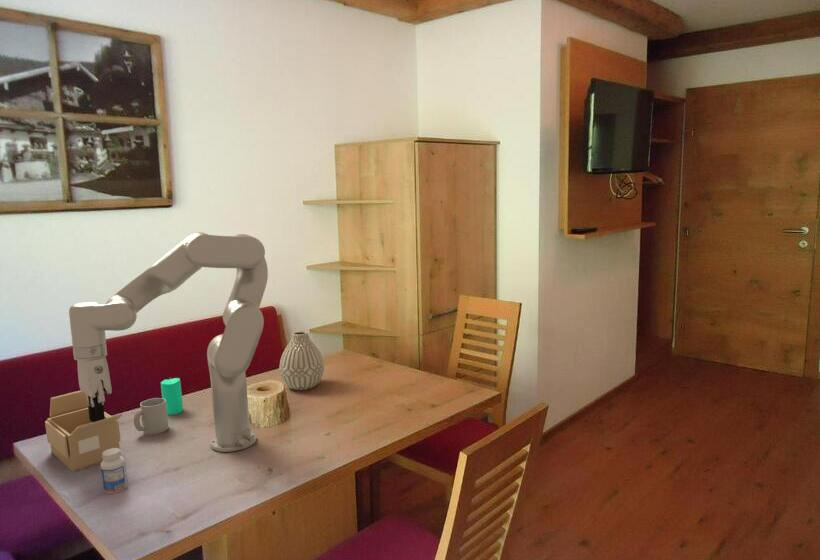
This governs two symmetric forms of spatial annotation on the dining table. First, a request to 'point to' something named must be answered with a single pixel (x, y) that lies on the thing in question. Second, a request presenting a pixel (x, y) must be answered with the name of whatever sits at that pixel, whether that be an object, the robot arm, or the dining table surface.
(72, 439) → the carton
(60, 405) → the long flap far
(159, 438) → the dining table surface
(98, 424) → the long flap near
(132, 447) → the dining table surface
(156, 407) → the cup
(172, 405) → the candle
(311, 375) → the vase
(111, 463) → the pill bottle
